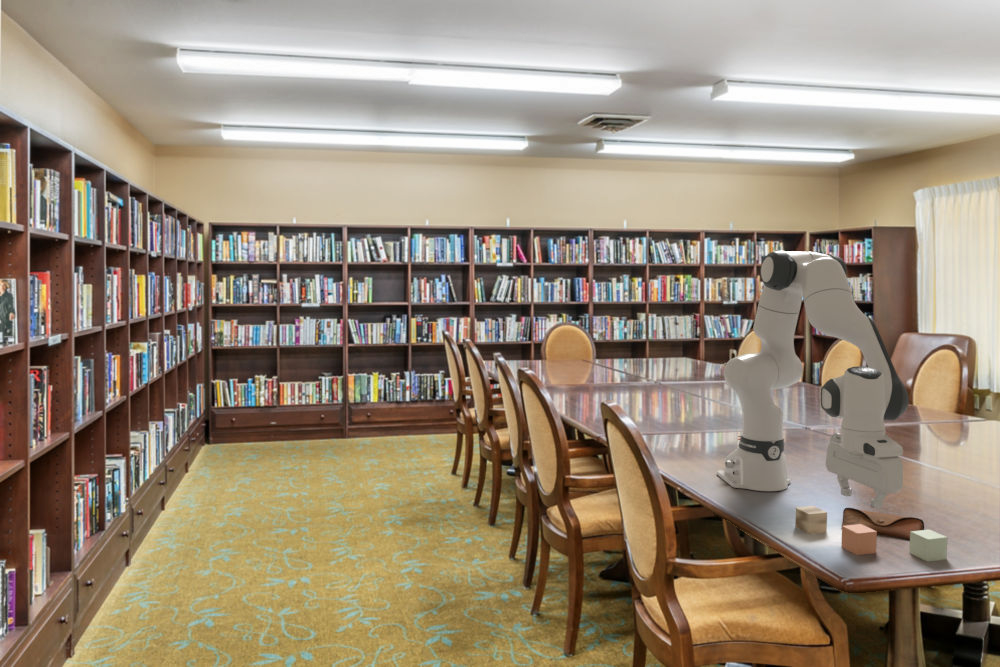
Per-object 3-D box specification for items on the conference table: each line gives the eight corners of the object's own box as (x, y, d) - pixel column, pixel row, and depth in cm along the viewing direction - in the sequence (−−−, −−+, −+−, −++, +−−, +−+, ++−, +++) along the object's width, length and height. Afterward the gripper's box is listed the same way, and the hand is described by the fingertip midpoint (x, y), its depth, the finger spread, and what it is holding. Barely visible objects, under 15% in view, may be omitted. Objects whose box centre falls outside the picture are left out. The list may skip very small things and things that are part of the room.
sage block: (909, 553, 164) (910, 531, 164) (928, 551, 166) (929, 529, 165) (927, 561, 160) (928, 539, 159) (946, 559, 161) (947, 537, 160)
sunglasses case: (838, 529, 180) (840, 502, 182) (840, 535, 185) (843, 509, 187) (923, 542, 170) (925, 514, 173) (923, 549, 176) (925, 521, 178)
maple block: (795, 527, 181) (795, 507, 181) (813, 525, 183) (813, 505, 182) (808, 534, 177) (808, 514, 176) (826, 532, 178) (827, 512, 177)
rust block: (841, 547, 168) (842, 526, 168) (860, 545, 170) (860, 523, 169) (856, 555, 164) (857, 533, 163) (876, 553, 165) (876, 531, 164)
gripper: (819, 432, 174) (818, 489, 175) (884, 452, 154) (882, 517, 155) (842, 430, 175) (841, 487, 176) (909, 450, 155) (907, 514, 157)
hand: (860, 501), depth 165 cm, fingers open, 8 cm apart
